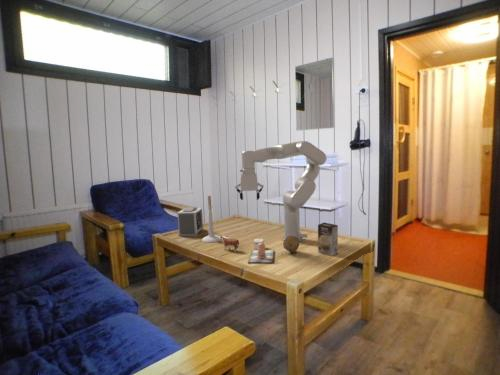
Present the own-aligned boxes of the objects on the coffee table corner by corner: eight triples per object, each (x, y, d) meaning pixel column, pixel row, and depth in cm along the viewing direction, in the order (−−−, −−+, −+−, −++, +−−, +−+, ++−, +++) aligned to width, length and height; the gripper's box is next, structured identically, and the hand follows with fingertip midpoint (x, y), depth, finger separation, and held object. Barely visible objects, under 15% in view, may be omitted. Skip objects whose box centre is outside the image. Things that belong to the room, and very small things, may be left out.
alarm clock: (196, 236, 213) (194, 210, 210) (178, 236, 215) (176, 210, 212) (204, 229, 231) (202, 205, 228) (187, 229, 233) (185, 205, 230)
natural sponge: (291, 256, 165) (290, 239, 164) (280, 252, 173) (279, 235, 171) (302, 252, 171) (302, 235, 169) (291, 249, 178) (291, 232, 177)
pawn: (266, 255, 166) (265, 241, 165) (265, 258, 162) (265, 244, 161) (257, 255, 167) (257, 241, 166) (257, 258, 162) (256, 244, 161)
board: (274, 251, 175) (274, 250, 175) (273, 263, 157) (273, 261, 157) (252, 251, 176) (251, 250, 176) (248, 263, 159) (248, 261, 159)
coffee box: (317, 252, 170) (317, 224, 168) (323, 249, 175) (323, 222, 173) (332, 256, 164) (331, 227, 162) (338, 253, 168) (338, 224, 166)
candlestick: (199, 239, 206) (196, 195, 202) (217, 235, 211) (214, 192, 207) (205, 244, 194) (202, 197, 190) (224, 240, 200) (222, 195, 196)
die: (263, 246, 184) (263, 238, 183) (262, 249, 179) (262, 241, 178) (255, 247, 185) (254, 239, 184) (254, 249, 180) (254, 241, 179)
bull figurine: (224, 246, 187) (223, 233, 186) (240, 250, 179) (240, 237, 177) (219, 248, 184) (218, 235, 183) (235, 253, 175) (235, 239, 174)
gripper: (233, 172, 180) (234, 201, 182) (262, 171, 178) (263, 200, 180) (235, 171, 187) (236, 198, 190) (263, 170, 185) (264, 198, 187)
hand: (249, 199), depth 185 cm, fingers open, 9 cm apart
